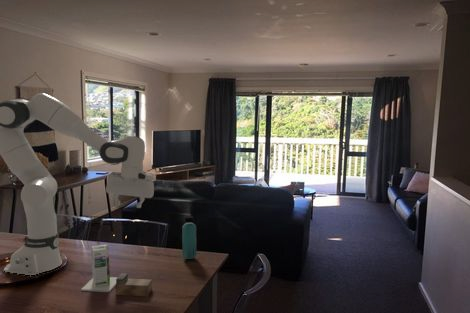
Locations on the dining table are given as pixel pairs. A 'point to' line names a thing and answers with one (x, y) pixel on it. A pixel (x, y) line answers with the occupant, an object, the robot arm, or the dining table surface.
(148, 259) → the dining table surface
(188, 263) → the dining table surface
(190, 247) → the beverage bottle
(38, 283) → the dining table surface
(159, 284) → the dining table surface
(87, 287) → the felt pad
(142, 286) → the brown wooden block
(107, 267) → the syrup box
